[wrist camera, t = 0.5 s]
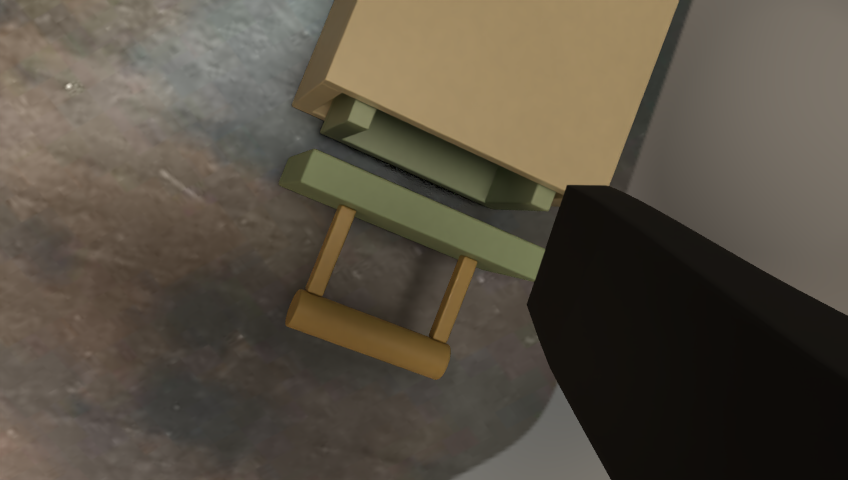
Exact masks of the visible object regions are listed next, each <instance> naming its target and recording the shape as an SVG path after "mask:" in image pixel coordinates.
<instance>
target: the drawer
mask: <svg viewBox="0 0 848 480" xmlns="http://www.w3.org/2000/svg"><path fill="white" fill-rule="evenodd" d="M320 133H321V134H323V135H326V136H328V137H330V138H332V139H335V140H337V141H339V142H341V143H344V144H346V145H348V146H350V147H353V148H355V149H357V150H359V151H362V152H364V153H366V154H368V155H371V156H373V157H375V158H377V159H380V160H382V161H384V162H387V163H389V164H391V165H393V166H396V167H398V168H400V169H402V170H405V171H407V172H409V173H411V174H414V175H416V176H418V177H420V178H423V179H425V180H427V181H429V182H432V183H434V184H436V185H438V186H441V187H443V188H445V189H447V190H450V191H452V192H454V193H456V194H459V195H461V196H463V197H466V198H468V199H470V200H472V201H475V202H477V203H479V204H481V205H484V206H486V207H488V208H490V209H499V210H527V211H549V209H550V206H551V204H552V201H553V199H554V196H555V193H556V192H555V191H553V190H551V189H549V188H547V187H545V186H542V185H540V184H538V183H536V182H534V181H532V180H529V179H527V178H525V177H523V176H521V175H519V174H517V173H514V172H512V171H510V170H508V169H506V168H504V167H501V166H499V165H497V164H495V163H493V162H491V161H488V160H486V159H484V158H482V157H480V156H478V155H476V154H473V153H471V152H469V151H467V150H465V149H463V148H460V147H458V146H456V145H454V144H452V143H450V142H448V141H445V140H443V139H441V138H439V137H437V136H435V135H432V134H430V133H428V132H426V131H424V130H422V129H419V128H417V127H415V126H413V125H411V124H409V123H407V122H404V121H402V120H400V119H398V118H396V117H394V116H391V115H389V114H387V113H385V112H383V111H381V110H378V109H376V108H374V107H372V106H370V105H368V104H366V103H363V102H361V101H359V100H357V99H355V98H353V97H350V96H348V95H346V94H344V93H341V94H340V95H338V96H336V97H335V98H333V101H332V103H331V106H330V108H329V111H328V113H327V116H326V118H325V121H324V123H323V125H322V128H321V130H320ZM279 185H280V186H282V187H284V188H287V189H289V190H291V191H294V192H296V193H299V194H301V195H303V196H306V197H308V198H311V199H313V200H315V201H318V202H320V203H323V204H325V205H328V206H330V207H332V208H335V209H337V210H336V213H335V215H334V218H333V220H332V223H331V225H330V228H329V230H328V233H327V235H326V238H325V240H324V243H323V245H322V247H321V250H320V252H319V255H318V257H317V260H316V262H315V265H314V267H313V270H312V272H311V275H310V277H309V280H308V282H307V285H306V287H305V290H306V291H305V290H303V289H299V290H298V291H297V292H296V294H295V296H294V297H293V299H292V302H291V304H290V306H289V309H288V312H287V316H286V321H285V325H286V326H287V327H290V328H293V329H295V330H298V331H301V332H304V333H306V334H309V335H312V336H315V337H318V338H320V339H323V340H326V341H329V342H332V343H334V344H337V345H340V346H343V347H345V348H348V349H351V350H354V351H357V352H359V353H362V354H365V355H368V356H370V357H373V358H376V359H379V360H382V361H384V362H387V363H390V364H393V365H395V366H398V367H401V368H404V369H407V370H409V371H412V372H415V373H418V374H421V375H423V376H426V377H429V378H432V379H434V380H437V379H439V378H440V377H441V376H442V375H443V374H444V372H445V370H446V368H447V366H448V363H449V360H450V354H451V349H450V346H449V345H448V344H446V342H447V340H448V338H449V335H450V332H451V330H452V327H453V325H454V322H455V320H456V317H457V314H458V312H459V309H460V307H461V304H462V302H463V299H464V296H465V294H466V291H467V289H468V286H469V283H470V281H471V278H472V276H473V273H474V271H475V268H476V267H477V268H479V269H482V270H486V271H490V272H494V273H499V274H503V275H507V276H511V277H516V278H520V279H524V280H529V281H533V282H535V279H536V276H537V273H538V270H539V267H540V264H541V261H542V258H543V255H544V252H545V249H544V248H542V247H539V246H537V245H535V244H533V243H530V242H528V241H526V240H523V239H521V238H519V237H517V236H514V235H512V234H510V233H507V232H505V231H503V230H500V229H498V228H496V227H494V226H491V225H489V224H487V223H484V222H482V221H480V220H477V219H475V218H473V217H471V216H468V215H466V214H464V213H461V212H459V211H457V210H455V209H452V208H450V207H448V206H445V205H443V204H441V203H438V202H436V201H434V200H432V199H429V198H427V197H425V196H422V195H420V194H418V193H416V192H413V191H411V190H409V189H406V188H404V187H402V186H399V185H397V184H395V183H393V182H390V181H388V180H386V179H383V178H381V177H379V176H377V175H374V174H372V173H370V172H367V171H365V170H363V169H360V168H358V167H356V166H354V165H351V164H349V163H347V162H344V161H342V160H340V159H338V158H335V157H333V156H331V155H328V154H326V153H324V152H321V151H319V150H317V149H312V150H309V151H306V152H303V153H301V154H298V155H295V156H292V157H290V158H289V159H288V161H287V164H286V166H285V168H284V171H283V173H282V176H281V178H280V181H279ZM354 217H356V218H359V219H361V220H364V221H366V222H369V223H371V224H373V225H376V226H378V227H381V228H383V229H385V230H388V231H390V232H393V233H395V234H397V235H400V236H402V237H405V238H407V239H410V240H412V241H414V242H417V243H419V244H422V245H424V246H426V247H429V248H431V249H434V250H436V251H438V252H441V253H443V254H446V255H448V256H450V257H453V258H455V259H458V261H457V264H456V266H455V269H454V271H453V274H452V277H451V279H450V282H449V284H448V287H447V289H446V292H445V295H444V297H443V300H442V302H441V305H440V307H439V310H438V313H437V315H436V318H435V320H434V323H433V325H432V328H431V330H430V333H429V337H427V336H425V335H422V334H419V333H417V332H414V331H412V330H409V329H406V328H404V327H401V326H398V325H396V324H393V323H390V322H388V321H385V320H382V319H380V318H377V317H374V316H372V315H369V314H366V313H364V312H361V311H358V310H356V309H353V308H350V307H348V306H345V305H342V304H340V303H337V302H335V301H332V300H329V299H327V298H324V297H321V296H323V294H324V291H325V289H326V286H327V284H328V281H329V279H330V276H331V274H332V272H333V269H334V267H335V264H336V262H337V259H338V257H339V254H340V252H341V249H342V247H343V244H344V242H345V239H346V237H347V234H348V232H349V229H350V227H351V224H352V222H353V219H354ZM430 337H431V338H430Z"/></svg>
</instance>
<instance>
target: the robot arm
mask: <svg viewBox="0 0 848 480" xmlns="http://www.w3.org/2000/svg"><path fill="white" fill-rule="evenodd" d="M527 306H528V309H529V312H530V315H531V318H532V321H533V324H534V327H535V330H536V333H537V335H538V338H539V341H540V343H541V346H542V349H543V351H544V354H545V356H546V359H547V361H548V364H549V366H550V369H551V371H552V372H553V374H554V376H555V378H556V380H557V382H558V384H559V386H560V388H561V390H562V391H563V393H564V395H565V397H566V399H567V401H568V403H569V404H570V406H571V408H572V410H573V412H574V414H575V415H576V417H577V419H578V421H579V423H580V425H581V426H582V428H583V430H584V432H585V434H586V435H587V437H588V439H589V441H590V443H591V444H592V446H593V448H594V450H595V452H596V453H597V455H598V457H599V459H600V461H601V462H602V464H603V466H604V468H605V470H606V471H607V473H608V475H609V477H610V479H611V480H848V316H847V315H845V314H843V313H841V312H839V311H837V310H835V309H834V308H832V307H830V306H828V305H826V304H824V303H822V302H820V301H818V300H816V299H815V298H813V297H811V296H809V295H807V294H805V293H803V292H801V291H799V290H797V289H796V288H794V287H792V286H790V285H788V284H786V283H784V282H783V281H781V280H779V279H777V278H775V277H773V276H772V275H770V274H768V273H766V272H765V271H763V270H761V269H759V268H757V267H756V266H754V265H752V264H750V263H749V262H747V261H745V260H743V259H742V258H740V257H738V256H736V255H735V254H733V253H731V252H730V251H728V250H726V249H724V248H723V247H721V246H719V245H717V244H716V243H714V242H712V241H711V240H709V239H707V238H705V237H704V236H702V235H700V234H698V233H697V232H695V231H693V230H692V229H690V228H688V227H686V226H684V225H683V224H681V223H679V222H678V221H676V220H674V219H672V218H671V217H669V216H667V215H665V214H663V213H662V212H660V211H658V210H656V209H655V208H653V207H651V206H649V205H647V204H645V203H644V202H642V201H639V200H638V199H636V198H634V197H632V196H630V195H628V194H626V193H624V192H621V191H619V190H617V189H615V188H612V187H610V186H607V185H567V186H566V189H565V192H564V195H563V198H562V201H561V204H560V207H559V210H558V213H557V216H556V219H555V222H554V225H553V228H552V231H551V234H550V237H549V240H548V243H547V246H546V249H545V252H544V255H543V258H542V261H541V264H540V267H539V270H538V273H537V276H536V279H535V282H534V285H533V288H532V291H531V294H530V297H529V299H528V302H527Z"/></svg>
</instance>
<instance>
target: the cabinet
mask: <svg viewBox="0 0 848 480" xmlns="http://www.w3.org/2000/svg"><path fill="white" fill-rule="evenodd" d="M678 2H679V0H334V3H333V5H332V7H331V10H330V12H329V15H328V17H327V20H326V22H325V25H324V27H323V29H322V32H321V34H320V37H319V39H318V42H317V44H316V47H315V49H314V51H313V54H312V56H311V59H310V61H309V64H308V66H307V68H306V71H305V73H304V76H303V78H302V81H301V83H300V86H299V88H298V90H297V93H296V95H295V98H294V100H293V103H292V106H293V107H294V108H297V109H299V110H301V111H303V112H306V113H308V114H310V115H312V116H314V117H317V118H319V119H321V120H323V121H325V118H326V116H327V113H328V111H329V108H330V106H331V103H332V101H333V98H335V97H336V96H338V95H340V94H341V93H344V94H346V95H348V96H350V97H353V98H355V99H357V100H359V101H361V102H363V103H366V104H368V105H370V106H372V107H374V108H376V109H378V110H381V111H383V112H385V113H387V114H389V115H391V116H394V117H396V118H398V119H400V120H402V121H404V122H407V123H409V124H411V125H413V126H415V127H417V128H419V129H422V130H424V131H426V132H428V133H430V134H432V135H435V136H437V137H439V138H441V139H443V140H445V141H448V142H450V143H452V144H454V145H456V146H458V147H460V148H463V149H465V150H467V151H469V152H471V153H473V154H476V155H478V156H480V157H482V158H484V159H486V160H488V161H491V162H493V163H495V164H497V165H499V166H501V167H504V168H506V169H508V170H510V171H512V172H514V173H517V174H519V175H521V176H523V177H525V178H527V179H529V180H532V181H534V182H536V183H538V184H540V185H542V186H545V187H547V188H549V189H551V190H553V191H555V192H556V193H555V196H554V199H553V201H552V204H551V206H554V207H560V204H561V201H562V198H563V195H564V192H565V189H566V186H567V185H607V186H609V184H610V182H611V179H612V177H613V174H614V171H615V169H616V166H617V163H618V161H619V158H620V155H621V153H622V150H623V147H624V145H625V142H626V140H627V137H628V134H629V132H630V129H631V126H632V124H633V121H634V118H635V116H636V113H637V110H638V108H639V105H640V103H641V100H642V97H643V95H644V92H645V89H646V87H647V84H648V81H649V79H650V76H651V74H652V71H653V68H654V66H655V63H656V60H657V58H658V55H659V52H660V50H661V47H662V44H663V42H664V39H665V37H666V34H667V31H668V29H669V26H670V23H671V21H672V18H673V15H674V13H675V10H676V7H677V5H678Z"/></svg>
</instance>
